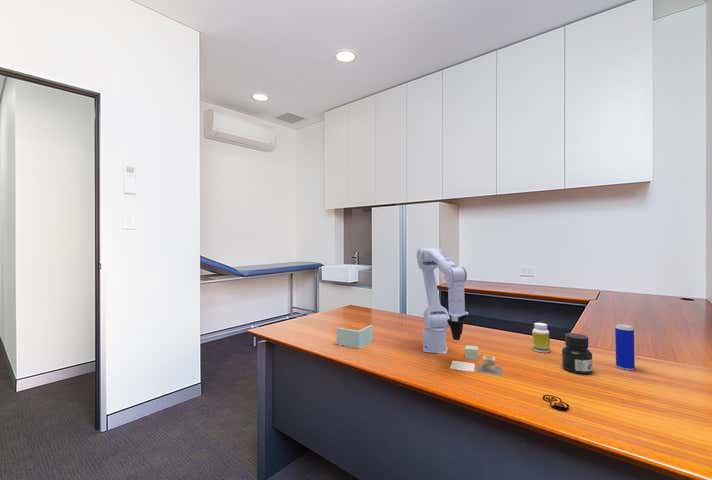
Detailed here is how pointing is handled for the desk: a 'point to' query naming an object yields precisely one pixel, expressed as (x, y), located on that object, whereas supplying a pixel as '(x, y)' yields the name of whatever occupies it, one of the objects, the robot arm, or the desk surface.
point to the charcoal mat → (480, 370)
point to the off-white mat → (462, 366)
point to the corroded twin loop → (556, 403)
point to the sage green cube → (471, 352)
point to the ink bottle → (577, 354)
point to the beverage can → (624, 346)
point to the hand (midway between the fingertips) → (457, 337)
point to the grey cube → (489, 363)
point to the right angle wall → (355, 337)
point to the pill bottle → (541, 338)
